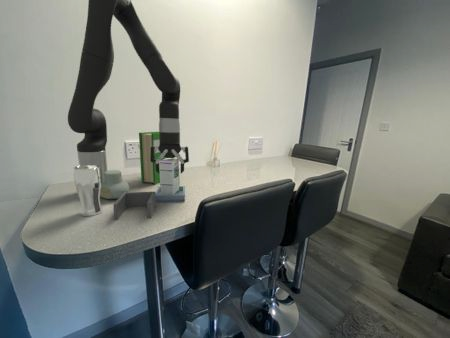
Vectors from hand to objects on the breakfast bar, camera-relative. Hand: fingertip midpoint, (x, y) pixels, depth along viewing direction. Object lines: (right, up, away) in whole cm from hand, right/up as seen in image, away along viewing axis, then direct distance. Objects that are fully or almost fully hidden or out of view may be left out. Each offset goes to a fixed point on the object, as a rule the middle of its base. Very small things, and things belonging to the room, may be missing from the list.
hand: (170, 172), depth 79 cm
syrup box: (-1, -9, +2) cm, 9 cm away
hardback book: (-13, -4, +26) cm, 29 cm away
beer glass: (-22, -13, -14) cm, 29 cm away
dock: (-8, -13, -12) cm, 19 cm away
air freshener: (-22, -9, 0) cm, 24 cm away
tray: (0, -10, +2) cm, 10 cm away
